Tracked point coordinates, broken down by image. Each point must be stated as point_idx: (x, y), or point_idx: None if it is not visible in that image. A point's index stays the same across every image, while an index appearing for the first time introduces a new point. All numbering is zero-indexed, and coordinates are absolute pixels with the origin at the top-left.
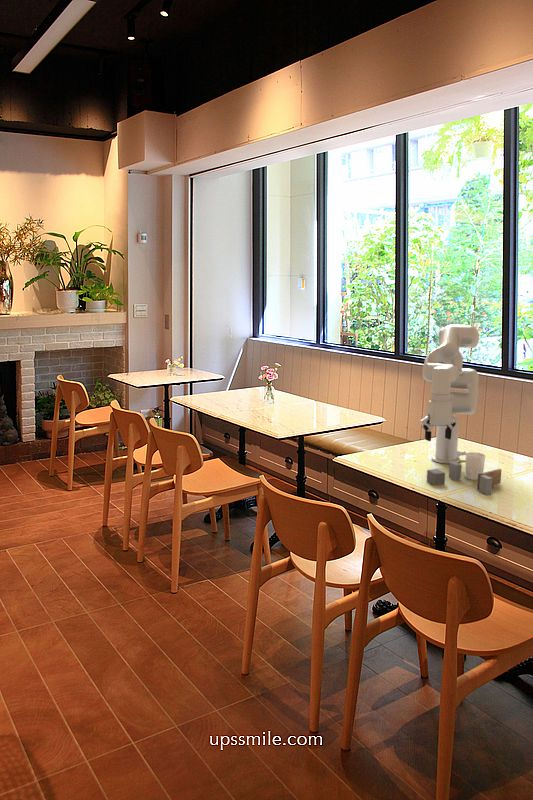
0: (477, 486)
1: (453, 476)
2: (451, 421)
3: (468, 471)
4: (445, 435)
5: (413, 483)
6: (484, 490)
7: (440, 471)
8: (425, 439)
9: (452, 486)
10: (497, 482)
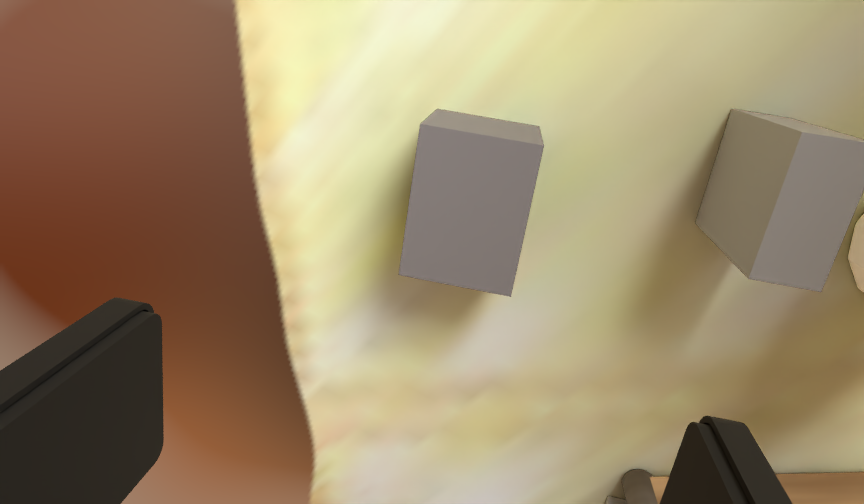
0: (628, 494)
1: (715, 192)
2: None
3: None
4: (705, 471)
5: (287, 100)
6: None
7: (503, 240)
8: (123, 301)
9: (529, 323)
10: None
